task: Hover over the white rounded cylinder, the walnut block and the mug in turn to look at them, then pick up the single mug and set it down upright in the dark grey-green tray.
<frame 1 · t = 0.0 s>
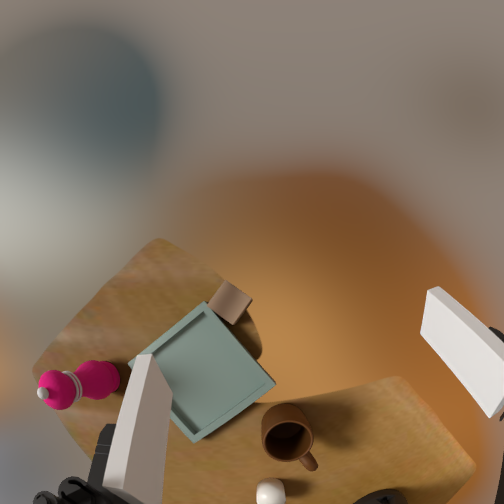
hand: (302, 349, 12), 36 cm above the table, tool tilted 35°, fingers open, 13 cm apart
white rounded cylinder: (270, 487, 39), on the table
mug: (290, 429, 42), on the table
block: (231, 304, 48), on the table
pepper mill: (107, 376, 45), on the table
tray: (200, 374, 45), on the table
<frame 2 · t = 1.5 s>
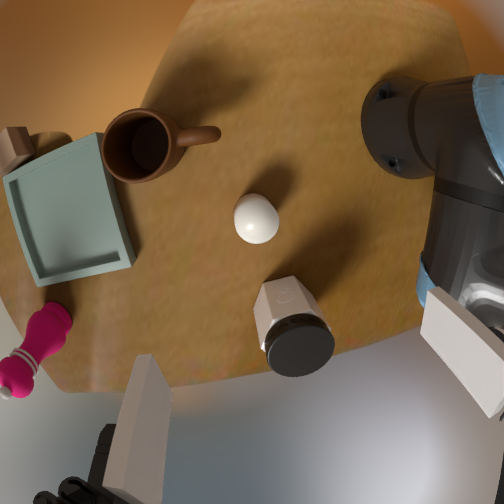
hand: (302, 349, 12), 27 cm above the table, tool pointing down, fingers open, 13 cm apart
white rounded cylinder: (252, 212, 37), on the table
mug: (174, 142, 33), on the table
jar: (282, 300, 42), on the table
block: (20, 149, 29), on the table
pepper mill: (58, 316, 40), on the table
tray: (65, 214, 34), on the table
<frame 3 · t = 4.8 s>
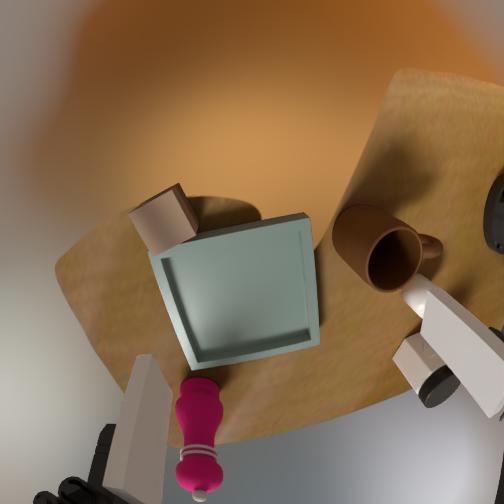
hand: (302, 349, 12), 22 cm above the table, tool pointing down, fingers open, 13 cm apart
white rounded cylinder: (413, 287, 39), on the table
mug: (371, 229, 35), on the table
jar: (411, 348, 45), on the table
block: (169, 212, 31), on the table
pepper mill: (199, 388, 42), on the table
tray: (241, 295, 36), on the table
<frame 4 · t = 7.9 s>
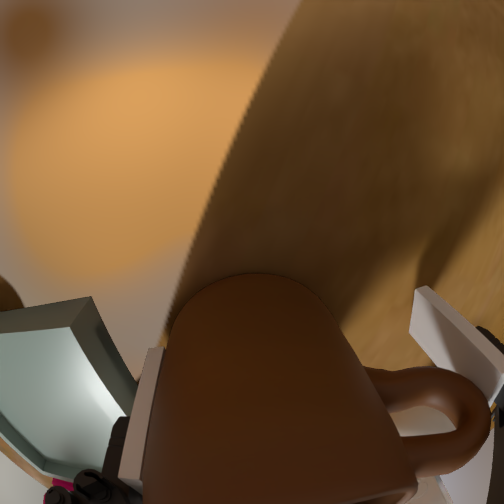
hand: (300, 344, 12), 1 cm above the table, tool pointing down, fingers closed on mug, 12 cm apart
white rounded cylinder: (403, 408, 17), on the table
mug: (296, 330, 13), on the table, touching gripper
jar: (392, 463, 23), on the table
pepper mill: (77, 482, 20), on the table
tray: (55, 413, 15), on the table
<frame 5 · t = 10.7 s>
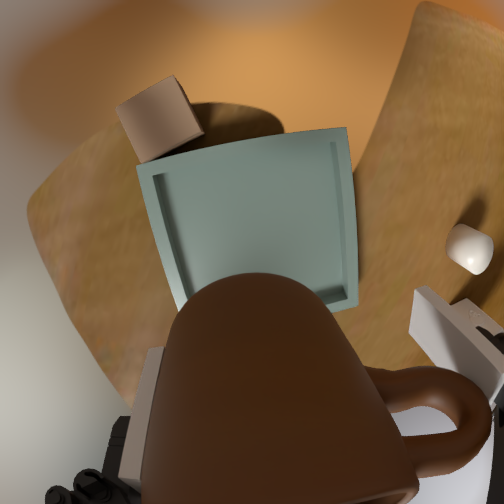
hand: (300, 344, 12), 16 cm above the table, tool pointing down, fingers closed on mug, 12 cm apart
white rounded cylinder: (457, 241, 30), on the table
mug: (296, 330, 13), point 15 cm above the table, touching gripper
jar: (452, 321, 36), on the table
block: (168, 123, 23), on the table
tray: (258, 235, 27), on the table
when the fingers open (3 cm above the table, at t = 13.7 s): mug drops 1 cm, resting on tray.
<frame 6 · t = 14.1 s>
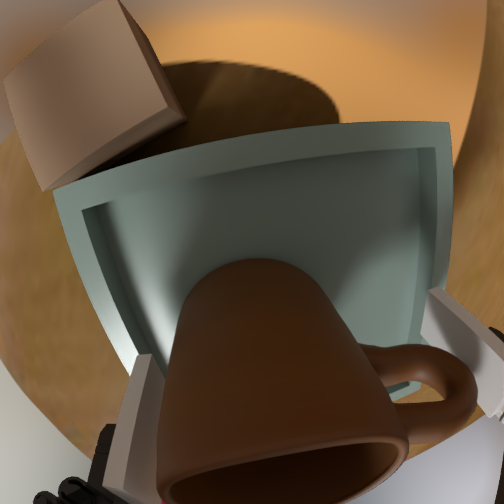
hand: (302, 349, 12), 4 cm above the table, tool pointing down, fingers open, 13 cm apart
mug: (295, 313, 15), point 1 cm above the table, touching tray
jar: (499, 369, 24), on the table
block: (119, 103, 11), on the table
tray: (286, 306, 15), on the table
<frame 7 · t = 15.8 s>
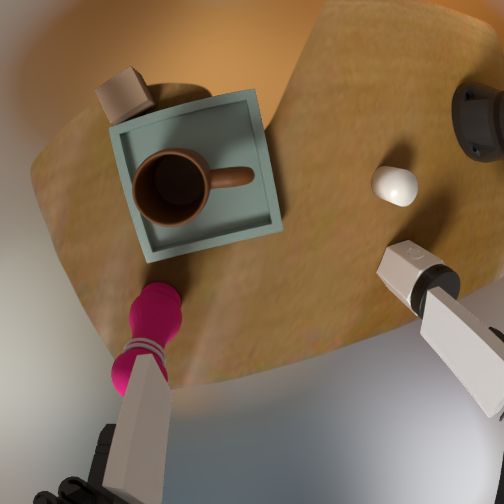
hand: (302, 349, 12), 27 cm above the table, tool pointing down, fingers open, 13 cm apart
white rounded cylinder: (385, 182, 38), on the table
mug: (198, 175, 34), point 1 cm above the table, touching tray
jar: (397, 263, 43), on the table
block: (132, 100, 30), on the table
pepper mill: (160, 299, 40), on the table
tray: (196, 175, 35), on the table
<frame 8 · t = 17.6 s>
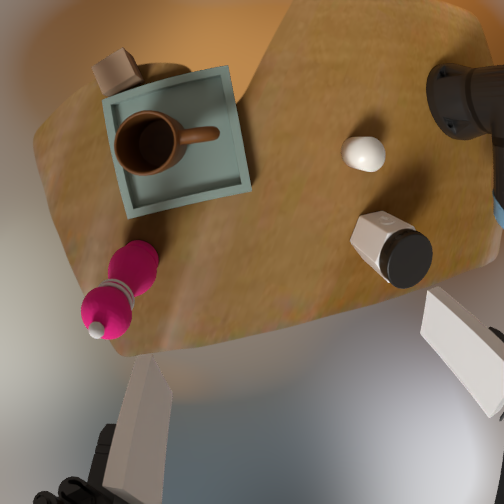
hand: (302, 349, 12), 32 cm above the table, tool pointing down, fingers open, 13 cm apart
white rounded cylinder: (355, 152, 40), on the table
mug: (177, 140, 36), point 1 cm above the table, touching tray
jar: (371, 234, 45), on the table
block: (124, 77, 33), on the table
pepper mill: (140, 258, 43), on the table
tray: (176, 141, 37), on the table
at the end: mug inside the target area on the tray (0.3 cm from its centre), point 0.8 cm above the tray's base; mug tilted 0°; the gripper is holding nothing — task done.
